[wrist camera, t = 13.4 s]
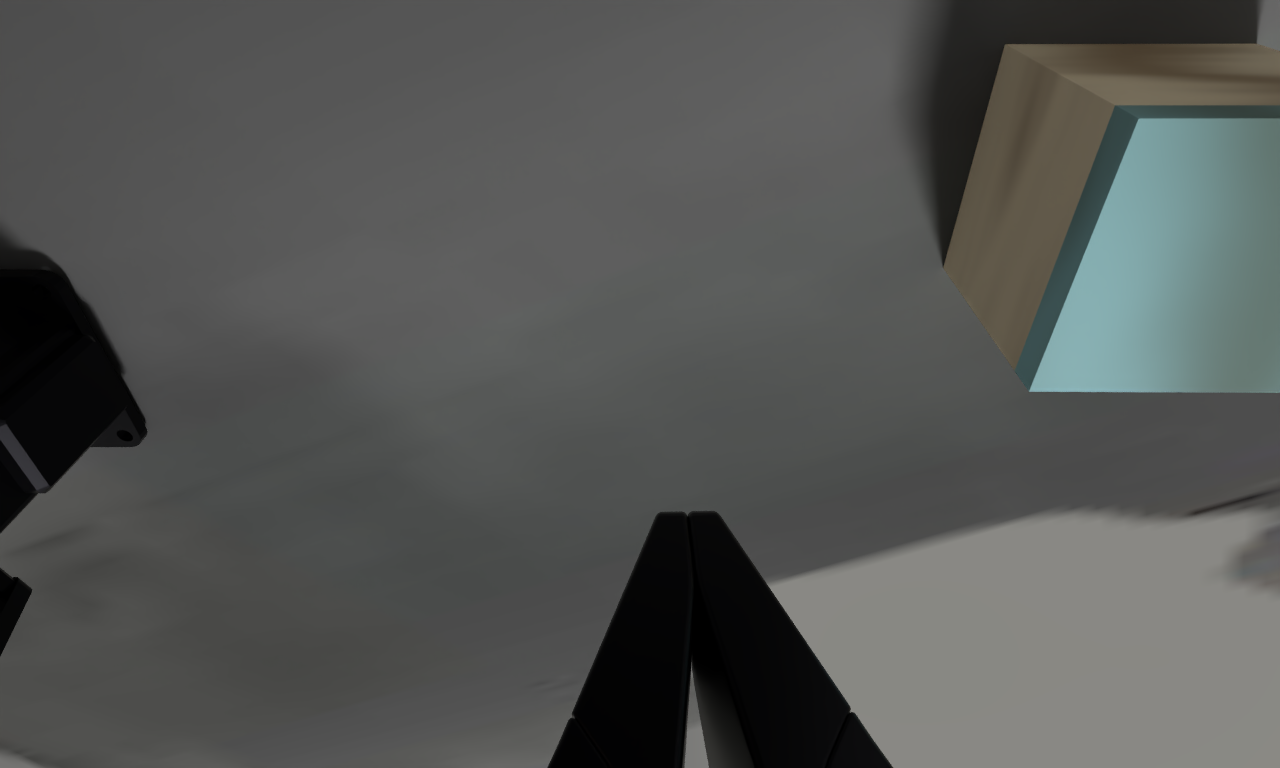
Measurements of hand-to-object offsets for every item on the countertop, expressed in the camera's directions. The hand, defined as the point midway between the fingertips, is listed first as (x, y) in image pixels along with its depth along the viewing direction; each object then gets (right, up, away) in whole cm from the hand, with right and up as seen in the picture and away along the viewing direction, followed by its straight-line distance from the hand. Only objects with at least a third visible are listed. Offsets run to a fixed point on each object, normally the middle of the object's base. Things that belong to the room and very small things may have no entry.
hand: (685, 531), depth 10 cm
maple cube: (+11, +4, +4) cm, 13 cm away
